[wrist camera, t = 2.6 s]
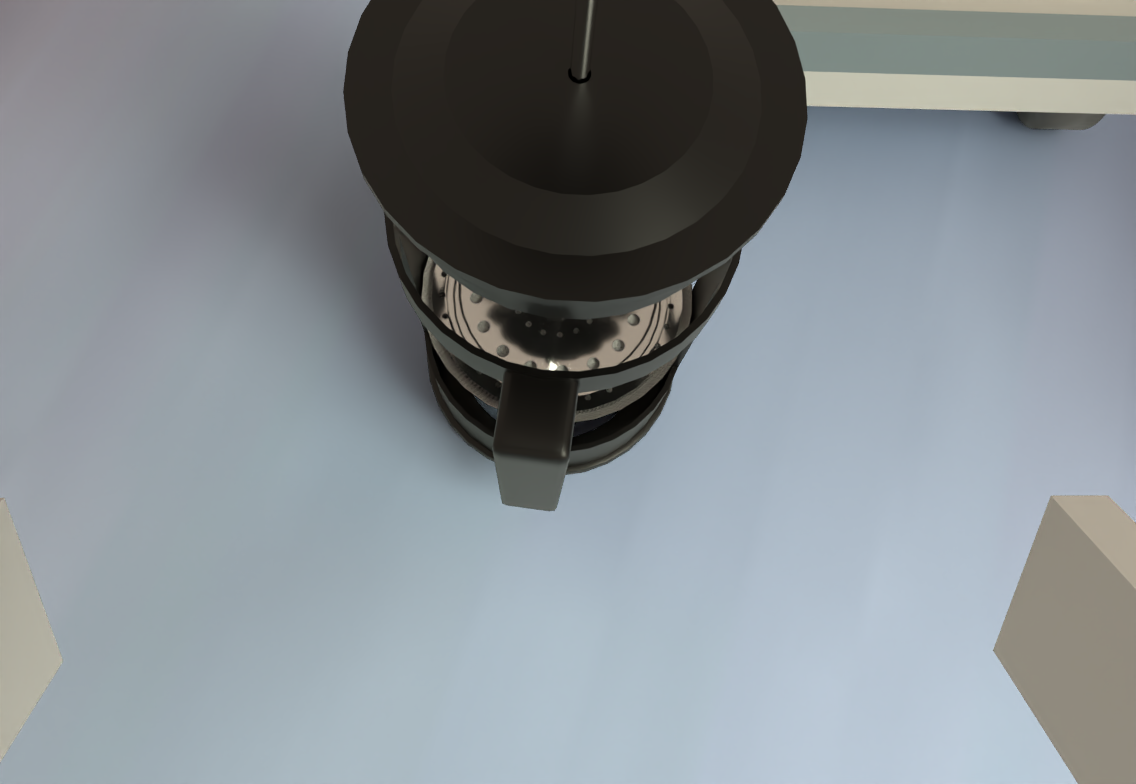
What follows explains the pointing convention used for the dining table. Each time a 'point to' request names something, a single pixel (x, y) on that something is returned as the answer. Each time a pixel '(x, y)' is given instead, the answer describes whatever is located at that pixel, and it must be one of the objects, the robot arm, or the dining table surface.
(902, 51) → the grey tray with legs
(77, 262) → the dining table surface
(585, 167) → the french press
